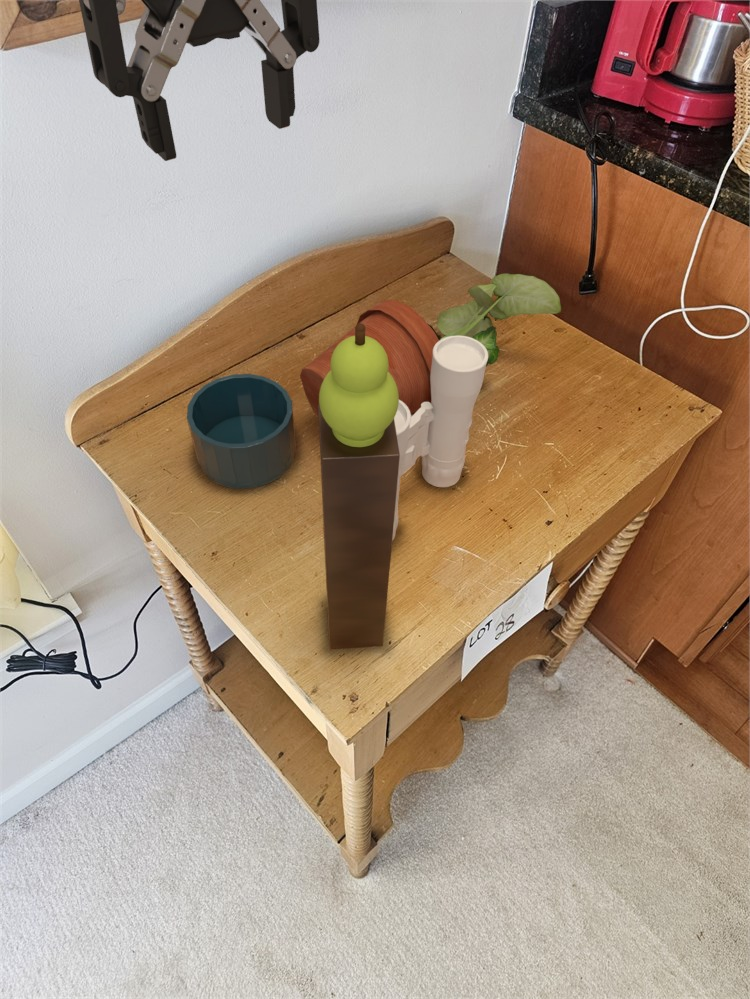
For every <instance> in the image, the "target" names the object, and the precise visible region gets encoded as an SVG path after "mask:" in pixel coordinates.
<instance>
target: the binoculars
mask: <svg viewBox="0 0 750 999" xmlns="http://www.w3.org/2000/svg"><path fill="white" fill-rule="evenodd" d="M487 361H488V352H487V349H486V348H485V346H484V345H483V344H482V343H480V342H479V341H477V340H475V339H473V338H470V337H467V336H458V335H457V336H449V337H446V338H443V339H441V340H440V341H438V342H437V343H436V344H435V346H434V348H433V358H432V366H431V374H430V383H431V403H430V402H423V403H422V404H421V408H420V409H419V410H418V411H417V412H416V413H415V414H414V415H413V414H411V413H410V410H409V408H408V407H407V406H406V404H405V403H403V402H402V401H401V400H399V403H398V409H397V412H396V415H395V417H394V421H395V427H396V434H397V440H398V447H399V453H400V459H399V470H398V482H397V493H396V504H395V515H394V526H393V538H392V542H393V541H394V540H395V539H396V535H397V529H398V526H399V498H400V497H399V496H400V486H401V477H402V476H403V475H405V474H406V473H407V472H408V471H409V470H411V469H412V467H414V466H415V465H416V462H417V460H418V459H419V457H421V474H422V478H423V479H424V481H425V482H426V483H428V484H429V485H432V486H433V487H438V488H449V487H452V486H454V485H456V484H457V483H458V482H459V481H460V479H461V476H462V473H463V472H462V471H463V468H464V466H465V462H466V450H467V444H468V442H469V440H470V432H469V431H470V428H471V426H472V425H473V412H474V407H475V404H476V401H477V399H478V397H479V394H480V392H481V389H482V387H483V383H484V378H485V372H486V369H487V366H486V363H487Z"/></svg>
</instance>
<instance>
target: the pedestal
mask: <svg viewBox="0 0 750 999" xmlns="http://www.w3.org/2000/svg"><path fill="white" fill-rule="evenodd" d="M318 415H319V418H318V436H319V454H320V455H319V458H320V478H321V479H320V480H321V481H320V482H321V499H322V500H321V503H322V523H323V524H322V525H323V545H324V547H323V548H324V564H325V565H324V569H325V585H326V586H325V589H326V590H325V591H326V609H327V628H328V644H329V645H328V646H329V650H330V651H331V650H332V651H334V650H346V649H347V650H349V649H359V648H360V649H361V648H374V647H383V646H384V636H385V627H386V615H387V604H388V593H389V581H390V570H391V559H392V558H391V557H392V546H393V541H392V538H393V526H394V515H395V504H396V493H397V482H398V470H399V459H400V453H399V447H398V440H397V434H396V427H395V421H394V419H393V421H392V422H391V423H390V425H389V426H388V427H387V428H386V429H385V431H384V434H383V436H382V437H381V439H380V440H379V441H377V442H376V443H374V444H372V445H370V446H366V447H352V446H348V445H345V444H343V443H341V442H340V441H339V440H338V439H337V438H336V437H335V436H334V434H333V431H332V428H331V427H330V426H329V425H328V423H327V422H326V421H325V419H324V417H323V415H322V412H321V409H320V404H319V405H318Z"/></svg>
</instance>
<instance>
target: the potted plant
mask: <svg viewBox="0 0 750 999" xmlns="http://www.w3.org/2000/svg"><path fill="white" fill-rule="evenodd" d="M467 293H468V294H469V296H470V297H471V298H472V299H473V300H471V301H469V302H466V303H464V304H462V305H458V306H457V305H456V306H453V307H450V308H447V309H444V310H443V311H440V312H439V314H438V316H437V318H436V320H437V322H436V323H437V325H436V326H437V327H436V328H437V329H438V330H439V331H440V332H441V334H442V335H444V336H441V335H440V334H438V333H437V332H436V330H435V329H434V327H433V326H432V325H431V324H429V322H427V321H426V319H424V317H423V316H422V315H421V314H419V313H418V312H417V311H416V310H414V309H413V308H412V307H411V305H408V304H406V303H404V302H401V301H400V300H397V299H384V300H382V301H380V302H379V303H377V304H376V305H374V306H372V307H371V308H369V309H367V310H366V311H364V312H363V313H361V314H360V315H359V317H358V320H357V323H356V325H357V324H359V323H361V324H363V325H364V326H365V336H367V337H370V338H373V339H374V340H376V341H377V342H378V343H379V344H380V345H381V346H382V347H383V348H384V350H385V352H386V354H387V357H388V364H389V367H388V372H389V373H390V374H391V376H392V377H393V379H394V381H395V383H396V386H397V389H398V395H399V400H401V401H402V402H403V403H405V404H406V406H407V407H408V408H409V410H410V413H411V415H412V416H413V415H414V414H415V413H416V412H417V411H418V410H419V409H420V408H421V404H422V403H423V402H430V403H431V383H430V374H431V366H432V358H433V348H434V346H435V344H436V343H437V342H438V341H440V340H441V339H443V338H446V337H449V336H457V335H458V336H467V337H470V338H473V339H475V340H477V341H479V342H480V343H482V344H483V345H484V346H485V348H486V349H487V352H488V361H487V363H486V367H488V366H489V365H493V364H495V362H497V361H498V359H499V352H500V349H499V346H498V345H497V336H498V332H497V330H496V329H497V327H496V326H494V323H493V321H492V319H491V317H492V318H493V319H494V322H497V321H502V320H507V319H509V318H511V317H515V316H521V315H548V314H555V315H556V314H559V313H561V312H562V305H561V299H560V296H559V295H558V293H557V292H556V290H555V289H554V288H553V287H552V286H551V285H550V284H548V283H547V282H546V281H545V280H543V279H541V278H538V277H536V276H535V275H528V274H526V275H525V274H522V273H515V274H514V273H512V274H511V273H508V272H506V273H500V274H497V275H495V276H493V277H492V278H491V283H489V284H480V285H475V286H472V287H469V289H468V290H467ZM493 295H494V296H495V297H497V298H496V299H495V301H494V298H493ZM490 316H491V317H490ZM356 325H355V326H354V327H353V328H351V329H349V331H348V332H346V333H345V334H344V335H342V337H341V338H339V339H338V340H336V342H334V343H333V344H332V345H331V346H329V347H328V348H326V349H325V350H324V351H323V352H321V354H318V356H316V358H314V359H313V360H312V361H311V362H309V363H308V364H307V365H305V366H304V367H303V368H302V369H301V370H300V375H299V377H300V381H301V384H302V387H303V391H304V393H305V396H306V399H307V401H308V403H309V405H310V407H311V409H312V410H313V412H314V414H315V415H316V417H317V419H319V415H318V405H319V393H320V388H321V385H322V383H323V380H324V378H325V377H326V375H327V374H328V373H329V372H330V371H331V357H332V354H333V352H334V350H335V348H336V347H337V346H338V344H339V343H340V342H342V341H343V340H345V339H346V338H348V337H351V336H355V327H356Z"/></svg>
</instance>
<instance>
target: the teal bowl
mask: <svg viewBox="0 0 750 999" xmlns="http://www.w3.org/2000/svg"><path fill="white" fill-rule="evenodd" d="M293 406H294V405H293V400H292V398H291V396H290V394H289V393H288V390H287V389H285V388H284V387H283V386H282V385H281V384H279V382H277V381H275V380H273V379H271V378H269V377H266V376H263V375H259V374H253V373H237V374H235V373H234V374H229V375H226V376H221V377H218V378H215V379H214V380H212V381H210V382H208V383H206V384H204V385H203V386H201V388H200V389H198V390H197V391H196V392H195V393H193V396H192V397H191V399H190V401H189V403H188V404H187V409H186V410H187V412H186V420H187V424H188V428H189V432H190V436H191V440H192V445H193V448H194V451H195V452H194V453H195V455H196V456H195V457H196V458H197V462H198V465H199V467H200V469H201V471H202V472H203V473H204V475H205V476H206V477H207V478H208V479H209V480H211V481H212V482H214V483H216V484H218V485H221V486H223V487H226V488H231V489H239V490H240V489H242V490H243V489H245V490H246V489H255V488H259V487H262V486H266V485H268V484H270V483H273V482H275V481H277V480H278V479H279V478H281V477H282V476H283V475H284V474H285V473H286V472H288V470H290V468H291V466H292V465H293V463H294V460H295V456H296V453H297V447H296V446H297V445H296V431H295V419H294V408H293Z"/></svg>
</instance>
